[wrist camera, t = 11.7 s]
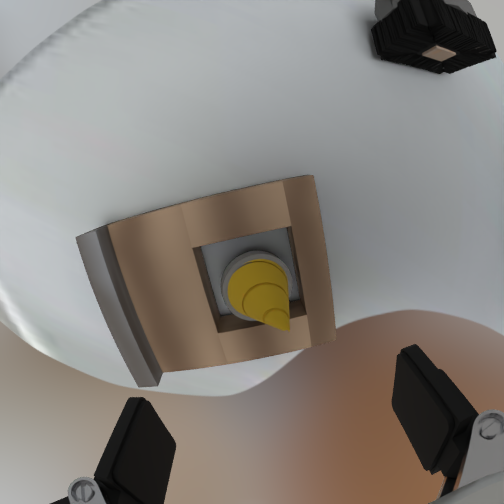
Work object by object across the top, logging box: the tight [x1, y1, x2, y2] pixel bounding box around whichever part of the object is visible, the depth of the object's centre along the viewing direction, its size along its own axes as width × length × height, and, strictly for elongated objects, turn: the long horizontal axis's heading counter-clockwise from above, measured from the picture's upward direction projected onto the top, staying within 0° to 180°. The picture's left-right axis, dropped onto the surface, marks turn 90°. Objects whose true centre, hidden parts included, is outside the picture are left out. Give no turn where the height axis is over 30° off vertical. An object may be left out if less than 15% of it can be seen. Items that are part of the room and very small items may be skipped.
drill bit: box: [221, 251, 293, 332], centre depth 19 cm, size 5×5×10 cm
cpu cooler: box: [371, 0, 496, 74], centre depth 14 cm, size 10×6×10 cm, turn 95°
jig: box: [76, 175, 337, 387], centre depth 22 cm, size 18×14×5 cm
